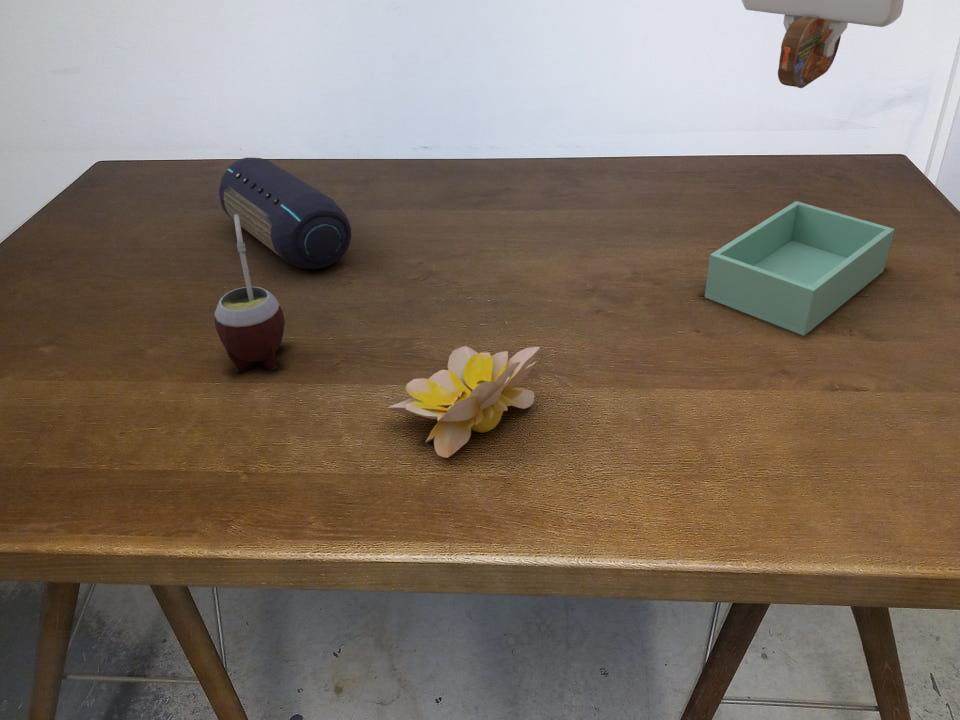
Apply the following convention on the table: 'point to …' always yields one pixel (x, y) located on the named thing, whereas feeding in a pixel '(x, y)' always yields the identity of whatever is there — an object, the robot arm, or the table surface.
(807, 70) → the tin
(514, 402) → the decorative flower
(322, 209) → the portable speaker
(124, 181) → the table surface
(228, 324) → the mate gourd
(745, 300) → the bin
